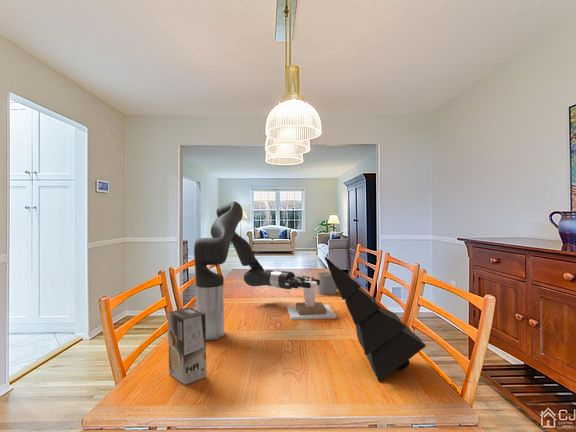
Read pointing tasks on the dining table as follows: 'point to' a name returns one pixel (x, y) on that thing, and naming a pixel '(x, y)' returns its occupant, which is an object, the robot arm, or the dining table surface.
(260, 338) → the dining table surface
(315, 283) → the smoothie
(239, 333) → the dining table surface
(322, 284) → the coffee mug
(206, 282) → the robot arm
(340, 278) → the decorative tree
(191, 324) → the coffee box
